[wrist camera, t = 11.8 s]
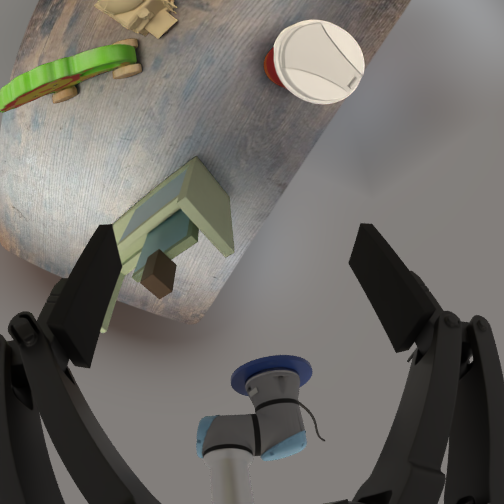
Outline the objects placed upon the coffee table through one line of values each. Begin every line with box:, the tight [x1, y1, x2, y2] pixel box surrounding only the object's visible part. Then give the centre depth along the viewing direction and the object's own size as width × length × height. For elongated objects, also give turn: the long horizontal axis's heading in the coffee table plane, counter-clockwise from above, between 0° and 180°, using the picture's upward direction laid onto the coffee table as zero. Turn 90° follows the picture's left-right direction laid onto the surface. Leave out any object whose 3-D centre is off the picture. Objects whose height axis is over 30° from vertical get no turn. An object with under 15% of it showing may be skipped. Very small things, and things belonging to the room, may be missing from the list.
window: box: [132, 209, 199, 299], centre depth 34 cm, size 3×10×15 cm, turn 123°
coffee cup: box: [264, 20, 364, 104], centre depth 24 cm, size 8×8×15 cm
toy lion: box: [0, 39, 142, 113], centre depth 20 cm, size 16×5×15 cm, turn 95°
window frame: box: [100, 156, 234, 333], centre depth 36 cm, size 8×24×14 cm, turn 123°
